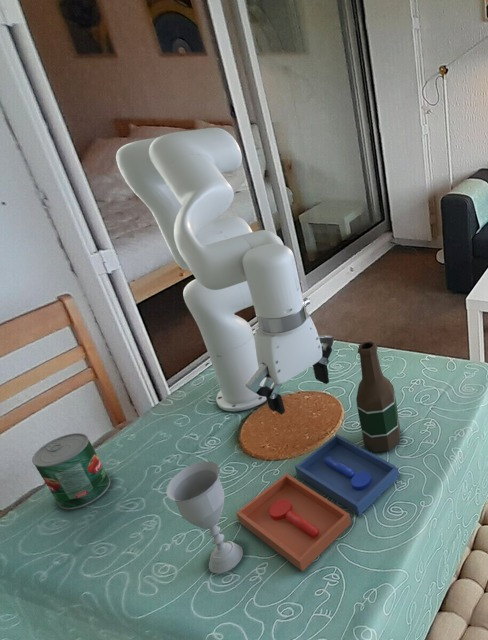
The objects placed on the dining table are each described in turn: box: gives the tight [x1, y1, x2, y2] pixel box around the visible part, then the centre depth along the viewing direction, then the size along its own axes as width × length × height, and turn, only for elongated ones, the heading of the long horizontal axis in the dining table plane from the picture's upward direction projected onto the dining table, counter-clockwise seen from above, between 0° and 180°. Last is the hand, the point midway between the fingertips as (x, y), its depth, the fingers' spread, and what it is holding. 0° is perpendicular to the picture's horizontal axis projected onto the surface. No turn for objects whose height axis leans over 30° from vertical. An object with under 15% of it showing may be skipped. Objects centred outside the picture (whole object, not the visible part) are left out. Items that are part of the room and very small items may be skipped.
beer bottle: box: [356, 341, 401, 454], centre depth 100 cm, size 8×8×24 cm
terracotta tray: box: [235, 473, 352, 572], centre depth 87 cm, size 17×10×2 cm, turn 58°
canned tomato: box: [31, 432, 111, 510], centre depth 92 cm, size 8×8×11 cm
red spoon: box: [269, 499, 319, 538], centre depth 87 cm, size 12×4×2 cm, turn 58°
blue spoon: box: [324, 457, 371, 490], centre depth 96 cm, size 12×4×2 cm, turn 58°
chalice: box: [166, 460, 244, 575], centre depth 78 cm, size 7×7×18 cm
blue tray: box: [294, 433, 400, 517], centre depth 96 cm, size 17×10×2 cm, turn 58°
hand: (301, 395), depth 92 cm, fingers open, 9 cm apart
